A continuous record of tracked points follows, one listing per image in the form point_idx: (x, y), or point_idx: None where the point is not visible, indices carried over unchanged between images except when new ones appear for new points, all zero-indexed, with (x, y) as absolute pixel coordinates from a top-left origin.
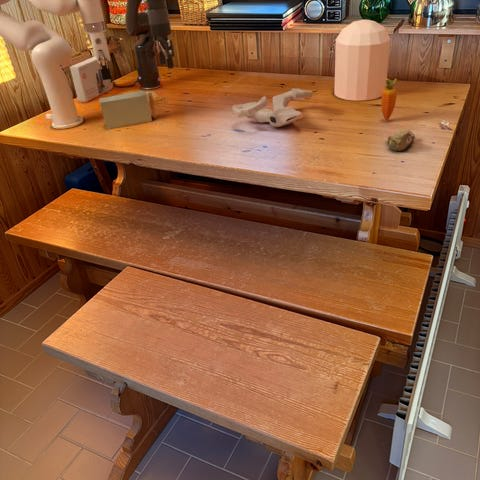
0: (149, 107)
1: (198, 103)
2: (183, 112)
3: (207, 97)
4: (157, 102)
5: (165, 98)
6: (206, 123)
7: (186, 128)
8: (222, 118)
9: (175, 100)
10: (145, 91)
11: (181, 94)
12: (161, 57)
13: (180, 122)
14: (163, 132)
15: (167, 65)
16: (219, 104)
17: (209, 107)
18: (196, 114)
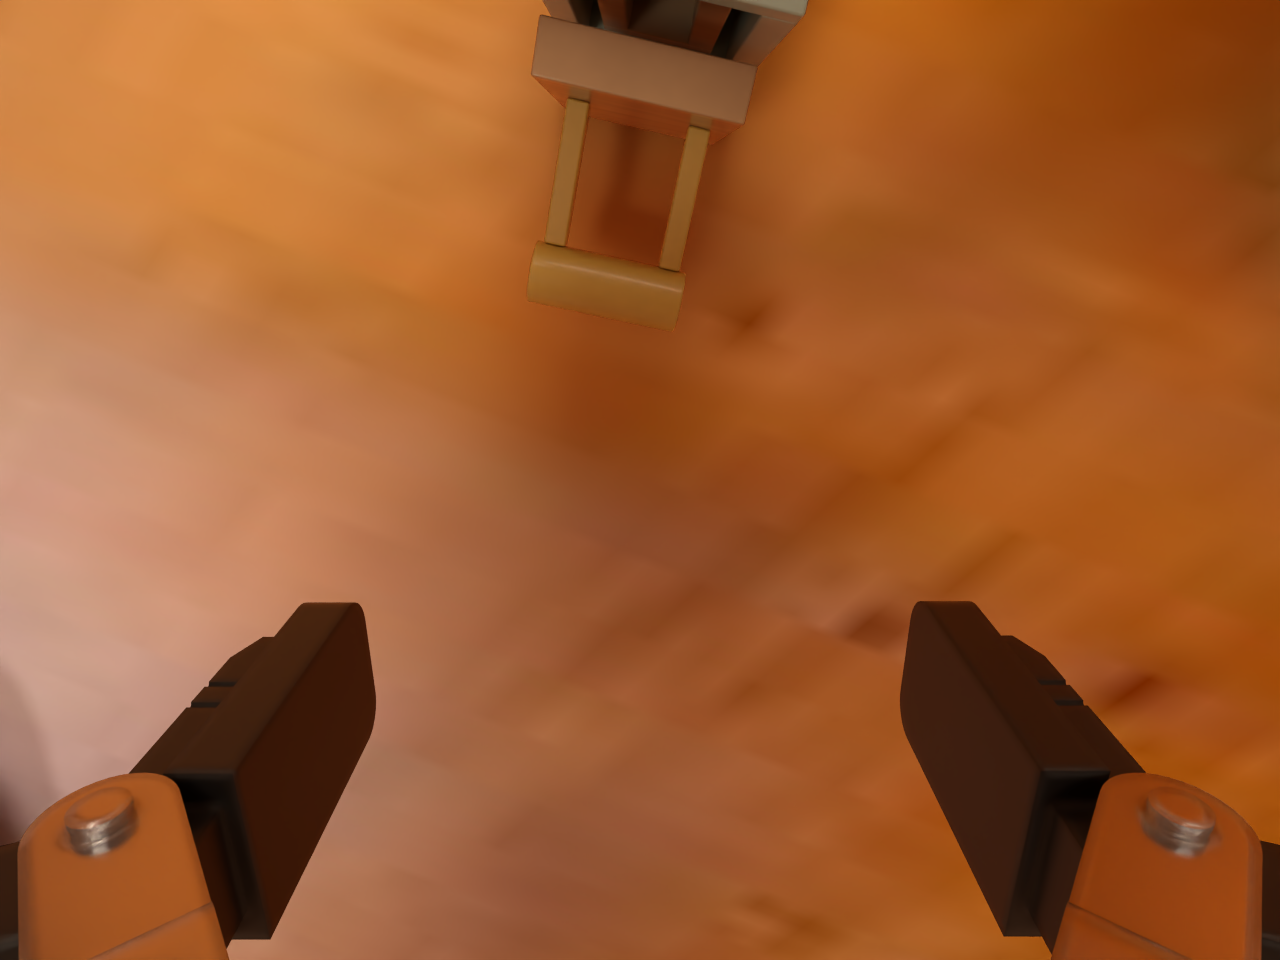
0: (543, 1)
1: (748, 664)
2: (599, 452)
3: (845, 785)
4: (572, 161)
5: (646, 323)
6: (147, 503)
7: (105, 291)
8: (201, 660)
9: (1033, 530)
10: (760, 4)
11: (1158, 648)
12: (989, 766)
13: (318, 309)
14: (105, 18)
15: (325, 635)
16: (576, 783)
17: (561, 692)
18: (452, 529)
